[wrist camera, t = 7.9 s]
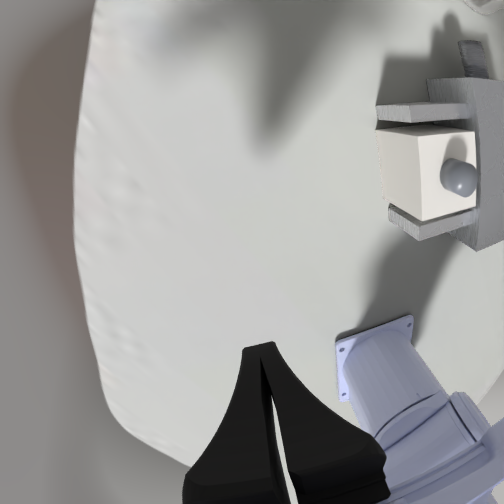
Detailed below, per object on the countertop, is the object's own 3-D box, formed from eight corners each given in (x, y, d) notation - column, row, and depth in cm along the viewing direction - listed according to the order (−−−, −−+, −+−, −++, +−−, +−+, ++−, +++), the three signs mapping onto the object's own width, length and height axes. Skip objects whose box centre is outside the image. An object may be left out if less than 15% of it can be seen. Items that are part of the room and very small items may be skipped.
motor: (488, 210, 22) (524, 230, 17) (390, 241, 22) (425, 271, 17) (475, 49, 15) (516, 47, 11) (360, 40, 15) (400, 23, 11)
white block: (433, 186, 20) (490, 213, 15) (382, 198, 20) (436, 230, 14) (428, 124, 18) (491, 134, 12) (374, 130, 18) (434, 139, 12)
